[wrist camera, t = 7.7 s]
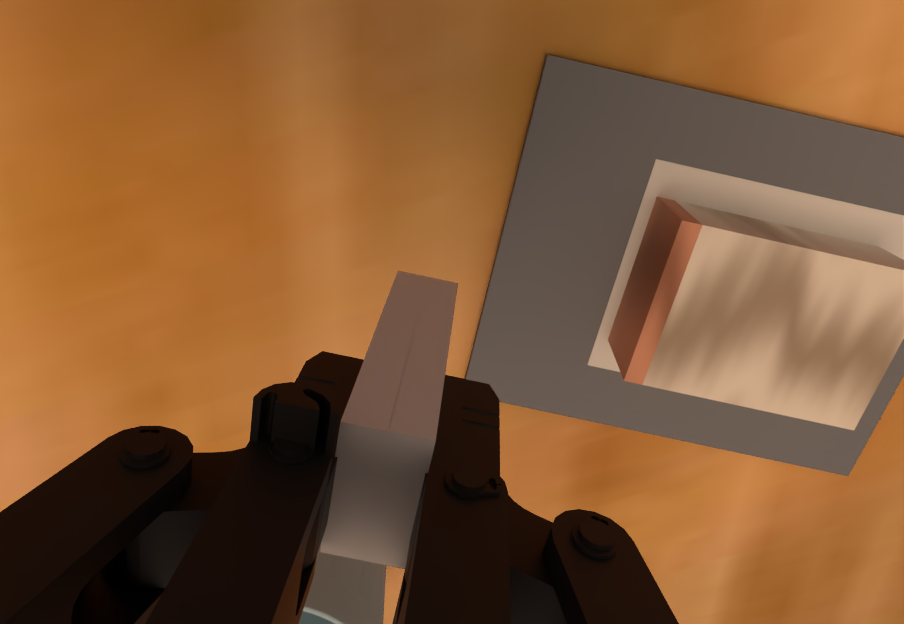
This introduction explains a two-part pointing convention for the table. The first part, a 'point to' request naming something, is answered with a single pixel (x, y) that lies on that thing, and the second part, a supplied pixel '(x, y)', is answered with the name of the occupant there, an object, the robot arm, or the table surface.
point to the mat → (621, 231)
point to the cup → (345, 592)
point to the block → (759, 314)
